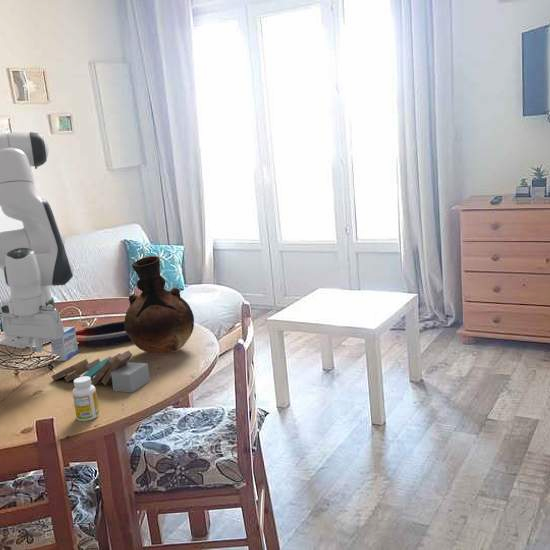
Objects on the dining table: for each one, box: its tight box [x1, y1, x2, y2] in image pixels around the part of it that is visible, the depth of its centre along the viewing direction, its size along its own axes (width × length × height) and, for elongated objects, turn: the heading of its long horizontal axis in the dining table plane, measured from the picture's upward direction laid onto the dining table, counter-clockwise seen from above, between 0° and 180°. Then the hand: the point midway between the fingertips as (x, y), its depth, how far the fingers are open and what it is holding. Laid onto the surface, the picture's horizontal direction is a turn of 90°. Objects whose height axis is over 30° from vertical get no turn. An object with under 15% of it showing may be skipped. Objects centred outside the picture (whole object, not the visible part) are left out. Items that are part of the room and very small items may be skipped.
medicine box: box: [50, 326, 79, 362], centre depth 199 cm, size 8×4×9 cm, turn 168°
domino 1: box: [50, 358, 90, 382], centre depth 179 cm, size 2×5×10 cm
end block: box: [111, 361, 151, 393], centre depth 170 cm, size 6×8×5 cm
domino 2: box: [63, 358, 101, 383], centre depth 177 cm, size 2×5×10 cm
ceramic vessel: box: [123, 255, 195, 355], centre depth 193 cm, size 21×18×30 cm
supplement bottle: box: [72, 375, 100, 422], centre depth 153 cm, size 5×5×10 cm
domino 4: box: [91, 353, 122, 387], centre depth 173 cm, size 2×5×10 cm
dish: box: [75, 320, 132, 348], centre depth 212 cm, size 16×31×5 cm, turn 101°
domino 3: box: [80, 356, 112, 379], centre depth 175 cm, size 2×5×10 cm
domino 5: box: [100, 350, 133, 386], centre depth 172 cm, size 2×5×10 cm
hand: (37, 351), depth 183 cm, fingers closed
